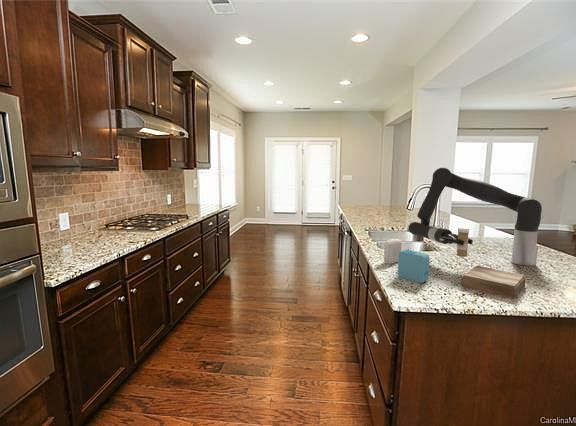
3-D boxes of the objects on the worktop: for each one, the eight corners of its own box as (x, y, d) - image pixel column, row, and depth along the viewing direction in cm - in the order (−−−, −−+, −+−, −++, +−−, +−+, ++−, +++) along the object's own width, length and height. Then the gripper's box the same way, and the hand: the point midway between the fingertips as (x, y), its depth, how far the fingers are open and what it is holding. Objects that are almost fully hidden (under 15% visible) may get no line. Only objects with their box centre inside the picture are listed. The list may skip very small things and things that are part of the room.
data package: (428, 281, 132) (430, 254, 131) (423, 284, 130) (424, 256, 128) (402, 274, 142) (403, 249, 140) (397, 276, 139) (398, 250, 137)
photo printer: (395, 259, 165) (396, 236, 163) (402, 261, 161) (403, 238, 160) (382, 262, 159) (383, 239, 157) (389, 264, 156) (390, 241, 154)
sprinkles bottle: (455, 256, 145) (456, 228, 143) (457, 253, 148) (459, 226, 146) (466, 257, 142) (468, 229, 140) (468, 255, 145) (470, 227, 143)
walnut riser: (475, 275, 139) (476, 265, 138) (524, 286, 126) (525, 275, 125) (461, 286, 127) (462, 274, 126) (514, 299, 114) (515, 286, 113)
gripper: (428, 228, 155) (455, 235, 139) (451, 226, 159) (480, 233, 143) (427, 243, 156) (454, 251, 140) (450, 241, 160) (479, 249, 144)
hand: (467, 242), depth 141 cm, fingers closed on sprinkles bottle, 4 cm apart
